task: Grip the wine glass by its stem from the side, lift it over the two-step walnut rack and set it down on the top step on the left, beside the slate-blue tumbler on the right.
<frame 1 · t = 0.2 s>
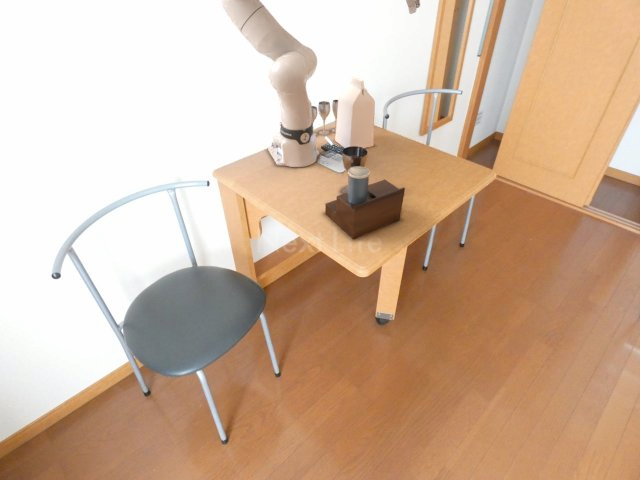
hand: (415, 10, 104), 52 cm above the table, tool tilted 20°, fingers open, 8 cm apart
wine glass: (352, 192, 128), on the table
tumbler: (356, 199, 106), resting on rack
goblet set: (336, 130, 168), on the table
milk: (353, 143, 157), on the table
rack: (362, 216, 116), on the table
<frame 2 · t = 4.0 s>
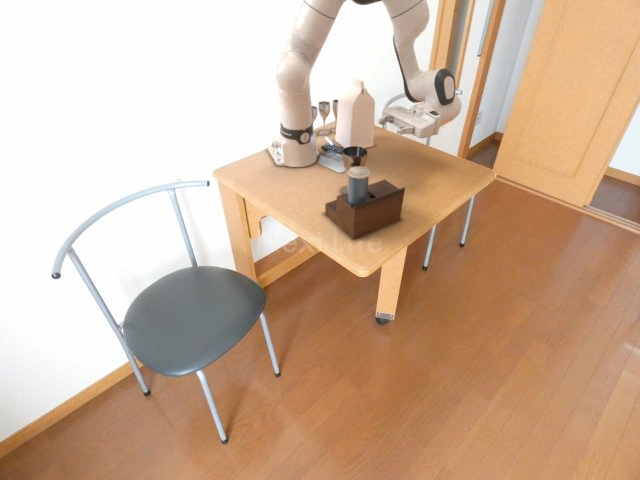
hand: (389, 126, 120), 20 cm above the table, tool horizontal, fingers open, 8 cm apart
nothing on the table moved.
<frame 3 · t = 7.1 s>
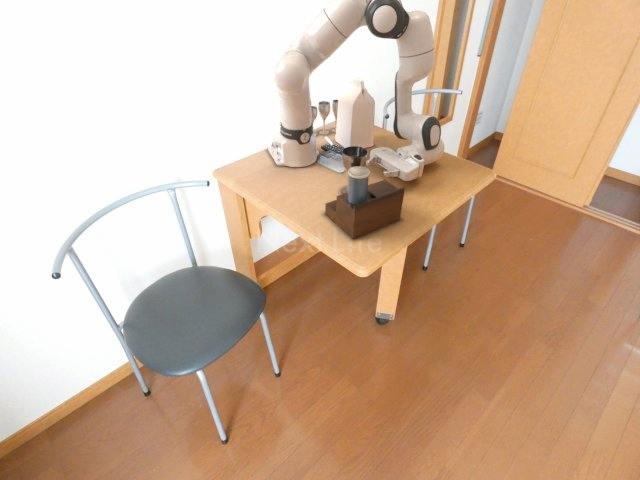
hand: (375, 168, 128), 6 cm above the table, tool horizontal, fingers open, 8 cm apart
nothing on the table moved.
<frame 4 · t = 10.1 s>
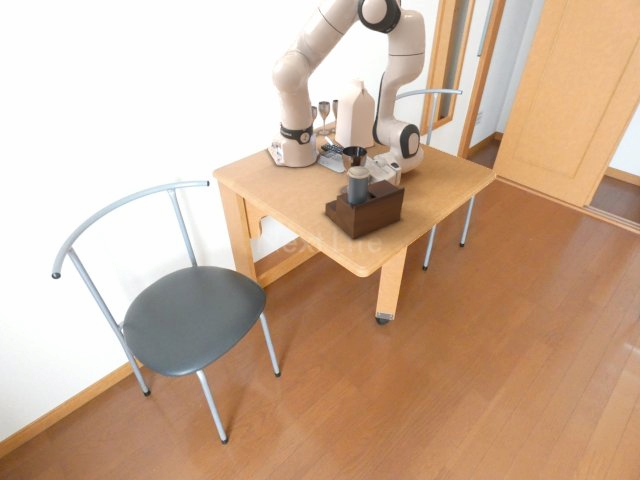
hand: (351, 177, 123), 6 cm above the table, tool horizontal, fingers closed on wine glass, 3 cm apart
wine glass: (352, 192, 128), on the table, touching gripper
everything else where it was.
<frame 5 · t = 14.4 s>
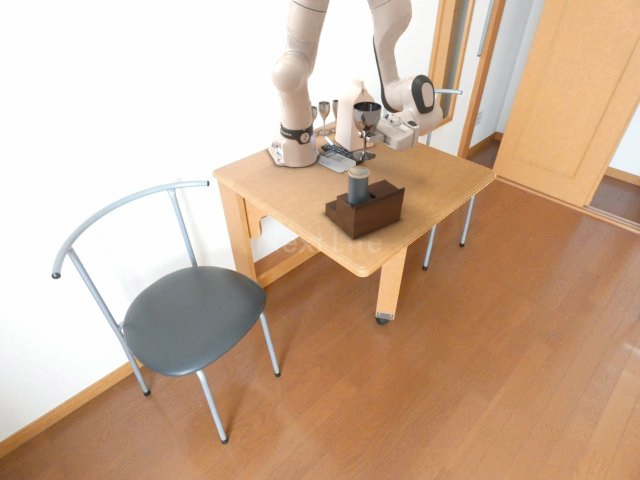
hand: (363, 137, 110), 22 cm above the table, tool horizontal, fingers closed on wine glass, 3 cm apart
wine glass: (364, 155, 114), point 16 cm above the table, touching gripper
everything else where it was.
when the fingers open (16 cm above the table, at t = 18.7 s): wine glass stays where it is, resting on rack.
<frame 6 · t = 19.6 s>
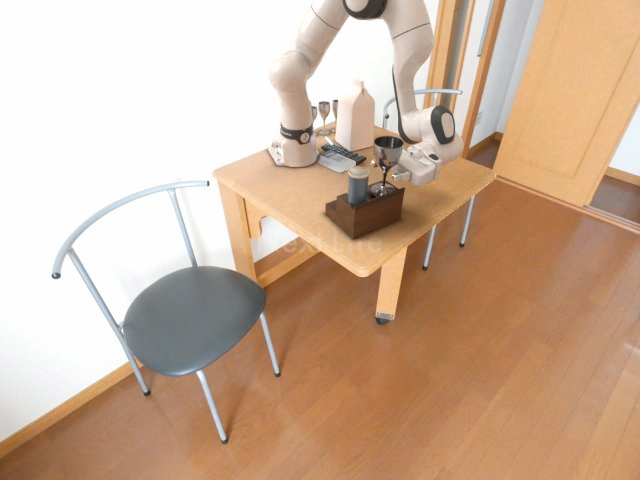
hand: (382, 171, 105), 17 cm above the table, tool horizontal, fingers open, 8 cm apart
wine glass: (383, 190, 110), point 10 cm above the table, touching rack
everything else where it was.
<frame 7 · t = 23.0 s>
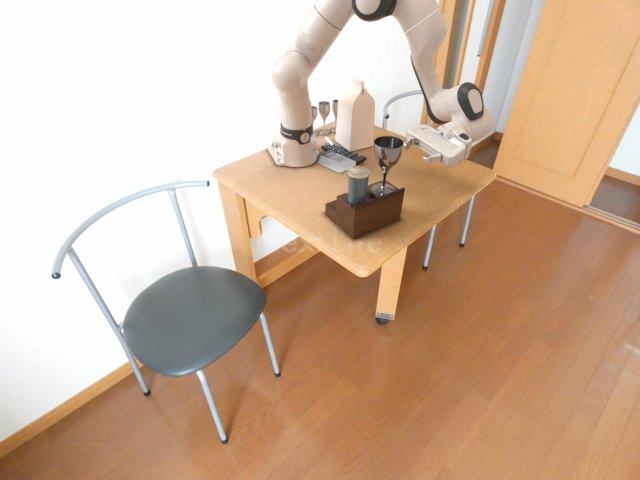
hand: (413, 153, 110), 18 cm above the table, tool horizontal, fingers open, 8 cm apart
nothing on the table moved.
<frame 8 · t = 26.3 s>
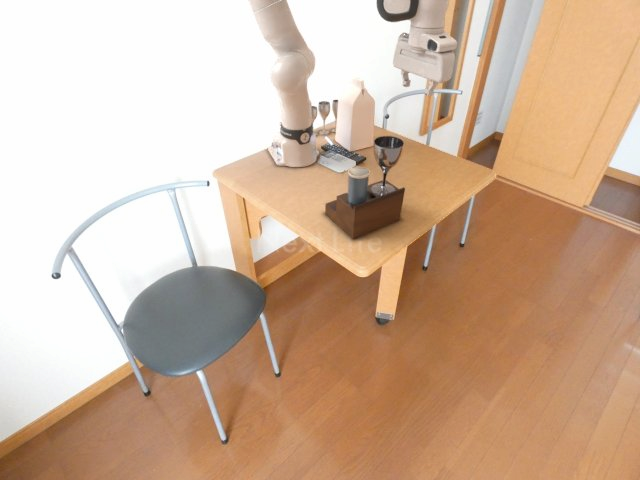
hand: (416, 90, 108), 33 cm above the table, tool pointing down, fingers open, 8 cm apart
nothing on the table moved.
at the end: wine glass inside the target area on the rack (0.3 cm from its centre), point 9.8 cm above the rack's base; wine glass tilted 0°; the gripper is holding nothing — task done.
